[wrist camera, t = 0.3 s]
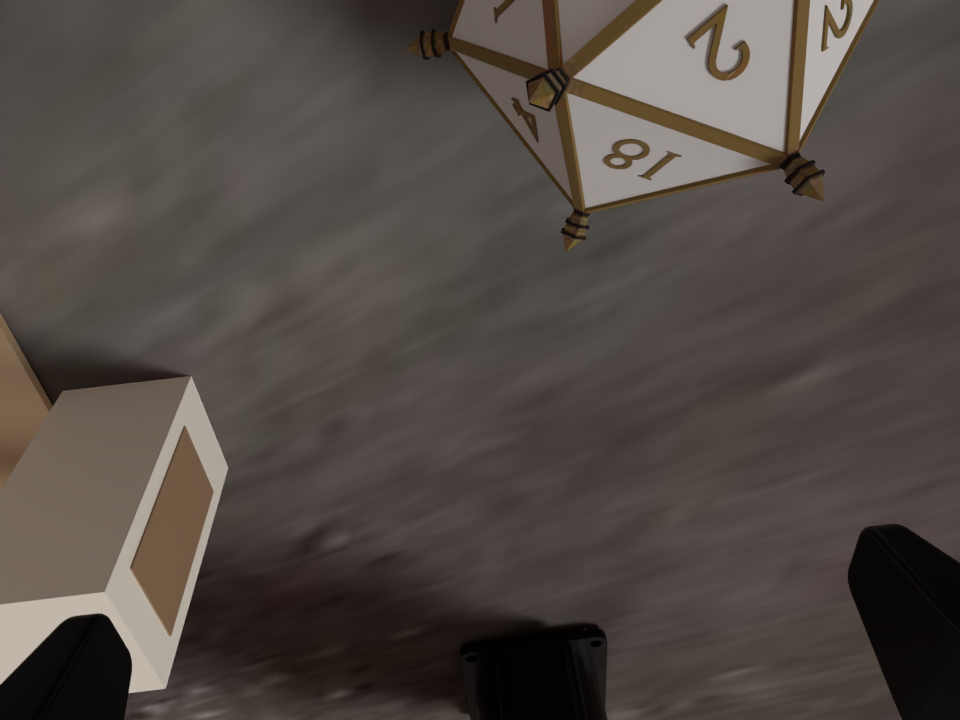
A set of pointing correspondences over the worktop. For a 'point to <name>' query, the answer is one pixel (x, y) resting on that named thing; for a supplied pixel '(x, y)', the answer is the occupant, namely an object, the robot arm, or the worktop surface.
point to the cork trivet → (17, 403)
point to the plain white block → (110, 521)
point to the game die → (655, 88)
